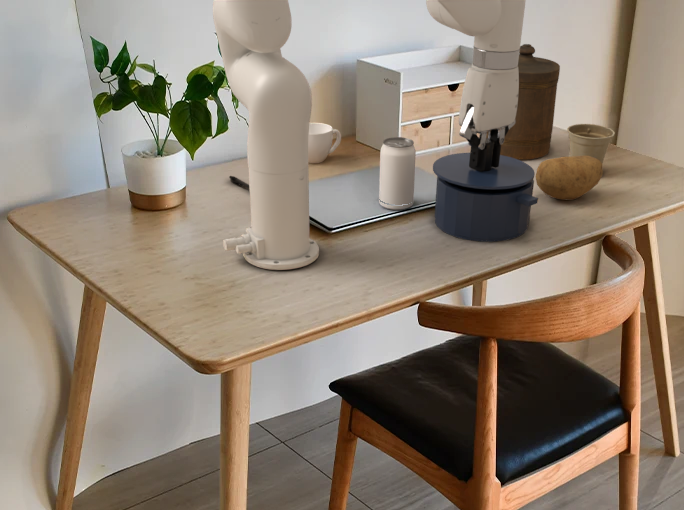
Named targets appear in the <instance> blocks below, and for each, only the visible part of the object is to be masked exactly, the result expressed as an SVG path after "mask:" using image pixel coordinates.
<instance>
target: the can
mask: <svg viewBox="0 0 684 510" xmlns="http://www.w3.org/2000/svg"><path fill="white" fill-rule="evenodd" d="M414 143H415V141H414V140H413V139H411V138H408V137H403V136H392V137H387V138H385V139H383V141H382V146H381V148H380V150H379V151H380V153H379V156H380V157H379V182H378V183H379V184H378V185H379V188H378V195H379V196H378V203H379V205H380V206H381V207H382V208H383V209H385V210H390V211H405V210H408V209H409V208H411V207H412V206H413V205H414V198H415V197H414V196H415V179H416V156H417V155H416V154H417V152H416V148H415V145H414ZM379 199H380V200H381V201H383V202H385V203H389V204H395V205H402V204H408V205H403V206H391V205H387V204H384V203H382V202H380V200H379ZM411 202H412V203H411ZM409 203H410V204H409Z"/></svg>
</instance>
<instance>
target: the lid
mask: <svg viewBox="0 0 684 510" xmlns="http://www.w3.org/2000/svg"><path fill="white" fill-rule="evenodd" d="M494 144H495V141H494V140H493V139H489V138H486V142H485V147H484V148H485V149H487V154H486V163H485V170H484V171H482V172H480V171H477V170H475V169H472V168H470V167H469V161H470V152H459V153H458V152H457V153H452V154H451V153H450V154H447V155H444V156H441V157H439V158H438V159H436V160H435V161H434V162H433V164H432V172H433V174H435V175H436V177H437V176H438V177H439V178H441V179H443V180H445V181H447V182H450V183H453V184H456V185H460V186H464V187H470V188H477V189H509V188H516V187H520V186H523V185H526V184H528V183H530V182H531V181H532V180H534V178H535V176H536V172H535V169H534V168H533V167H532V165H529V164H528V163H526V162H525V161H522V160H519V159H515V158H511V157H508V156H503V155H500V160H499V166H498V167H496V168H495V167H492V162H493V153H494Z"/></svg>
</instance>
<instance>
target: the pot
mask: <svg viewBox="0 0 684 510" xmlns="http://www.w3.org/2000/svg"><path fill="white" fill-rule="evenodd" d="M534 184H535V180H534V179H533V180H532V181H531V182H530V183H528V184H526V185H523V186H520V187H516V188H509V189H477V188H470V187H464V186H460V185H456V184H453V183H450V182H447V181H445V180H443V179H441V178H439V177H438V176H437V175H436V186H435V203H434V205H435V206H434V223H435V225H436V227H437V228H438V229H439V230H441V231H442V232H444V233H445V234H447V235H449V236H451V237H455V238H458V239H462V240H467V241H474V242H492V243H493V242H502V241H508V240H509V241H510V240H512V239H515V238H519V237H520V236H522V235H524V234H525V233H526V231H527V230H528V227H529V225H530V217H531V210H532V206H534V205H536V204H538V202H539V197H537V196H533V193H534Z"/></svg>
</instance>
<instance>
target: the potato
mask: <svg viewBox="0 0 684 510" xmlns="http://www.w3.org/2000/svg"><path fill="white" fill-rule="evenodd" d="M603 175H604V169H603V164H602V163H601V161H600V160H598V159H596V158H594V157H591V156H570V155H569V156H561V157H555V158H548V159H545V160H544V161H542V162H540V164H539V165H538V166H537V169H536V172H535V181H536V185H537V187H538V188H539V189H540V191H541V192H543V194H545V195H547V196H549V197H551V198H553V199H556V200H562V201H571V200H576V199H579V198H581V197H582V196H583V195H585V194H587V193H589V192H590V191H591V190H592V189H593V188H594V187H596V185H598V183H599V182H600V181H601V179H602V177H603Z"/></svg>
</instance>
